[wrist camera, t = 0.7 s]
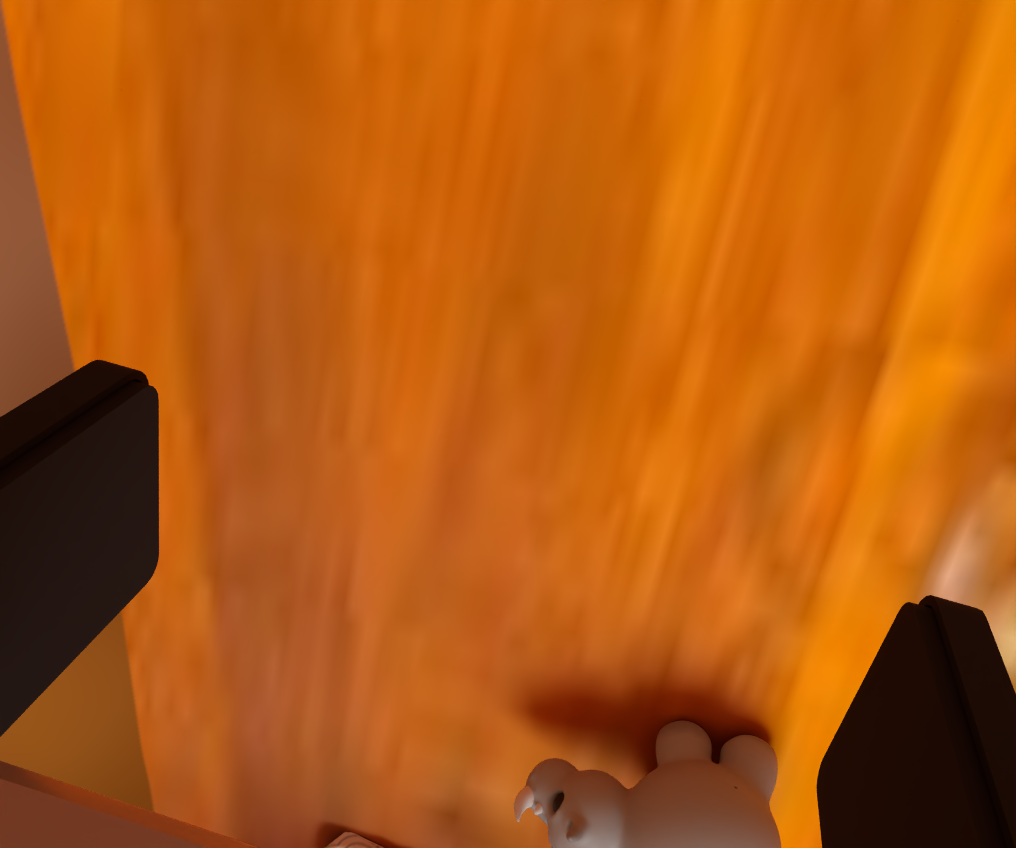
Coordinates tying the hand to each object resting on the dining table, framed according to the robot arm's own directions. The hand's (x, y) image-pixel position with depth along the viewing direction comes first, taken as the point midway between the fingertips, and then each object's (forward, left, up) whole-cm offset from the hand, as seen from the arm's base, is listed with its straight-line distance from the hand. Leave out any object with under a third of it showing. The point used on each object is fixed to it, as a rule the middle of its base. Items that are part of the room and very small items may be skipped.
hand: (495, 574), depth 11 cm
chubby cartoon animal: (+29, +7, -26) cm, 39 cm away
